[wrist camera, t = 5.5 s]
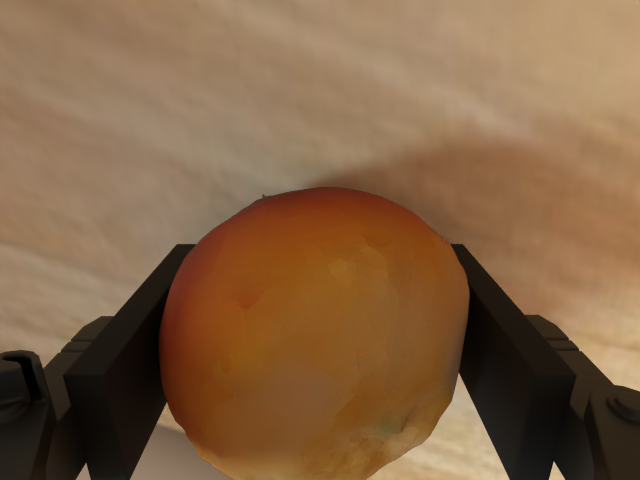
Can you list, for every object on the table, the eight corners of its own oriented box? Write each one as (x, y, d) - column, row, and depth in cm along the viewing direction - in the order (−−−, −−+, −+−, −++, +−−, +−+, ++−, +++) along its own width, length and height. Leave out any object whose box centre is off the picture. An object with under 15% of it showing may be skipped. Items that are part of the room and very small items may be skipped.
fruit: (176, 91, 11) (322, 256, 5) (385, 167, 16) (583, 296, 10) (102, 333, 13) (141, 623, 8) (300, 334, 18) (416, 513, 12)
